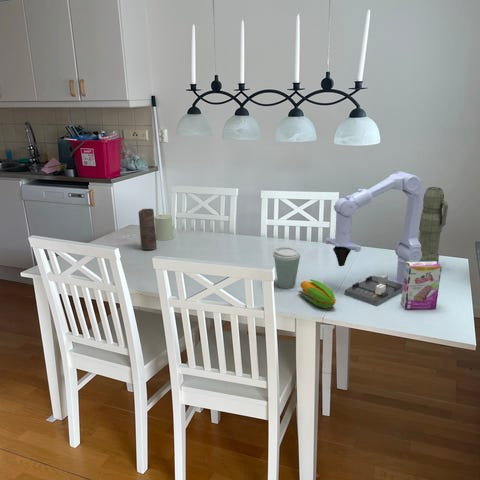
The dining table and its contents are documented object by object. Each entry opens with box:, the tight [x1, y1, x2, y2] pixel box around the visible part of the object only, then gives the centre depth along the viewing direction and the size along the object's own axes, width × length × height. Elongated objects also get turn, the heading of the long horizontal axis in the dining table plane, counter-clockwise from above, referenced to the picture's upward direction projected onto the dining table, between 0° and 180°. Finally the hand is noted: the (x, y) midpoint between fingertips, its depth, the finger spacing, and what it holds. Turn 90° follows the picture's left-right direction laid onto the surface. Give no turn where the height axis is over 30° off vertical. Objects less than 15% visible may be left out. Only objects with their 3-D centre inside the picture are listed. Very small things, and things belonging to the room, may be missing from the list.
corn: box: [299, 279, 337, 309], centre depth 176 cm, size 7×8×20 cm
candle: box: [138, 208, 157, 250], centre depth 234 cm, size 8×7×20 cm
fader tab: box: [375, 284, 386, 295], centre depth 176 cm, size 3×2×3 cm
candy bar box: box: [400, 261, 443, 311], centre depth 168 cm, size 11×5×16 cm, turn 92°
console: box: [343, 275, 403, 307], centre depth 183 cm, size 20×14×3 cm
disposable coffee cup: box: [272, 246, 301, 290], centre depth 188 cm, size 11×11×15 cm
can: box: [154, 213, 174, 241], centre depth 252 cm, size 9×9×12 cm
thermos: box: [418, 186, 449, 263], centre depth 200 cm, size 9×12×35 cm
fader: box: [378, 273, 389, 285], centre depth 185 cm, size 3×2×3 cm
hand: (341, 265), depth 183 cm, fingers closed
